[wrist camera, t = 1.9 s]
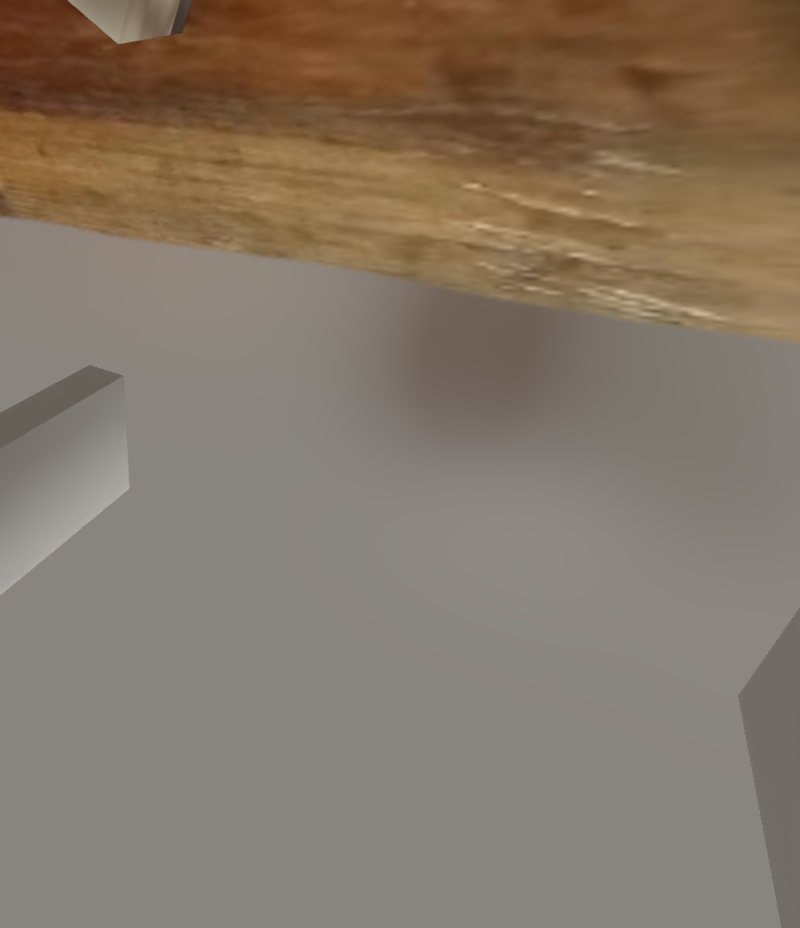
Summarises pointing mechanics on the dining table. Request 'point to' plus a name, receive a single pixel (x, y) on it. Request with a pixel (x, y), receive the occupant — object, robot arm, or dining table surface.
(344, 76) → the dining table surface
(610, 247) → the dining table surface
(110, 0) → the hole block
